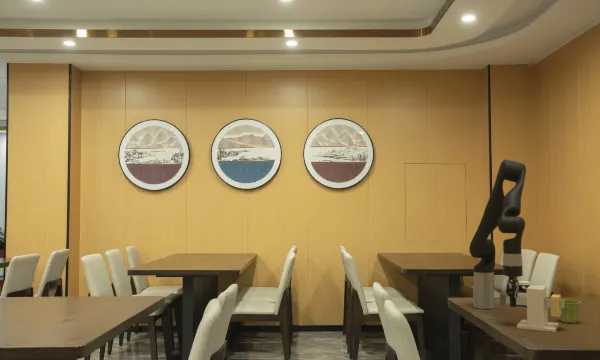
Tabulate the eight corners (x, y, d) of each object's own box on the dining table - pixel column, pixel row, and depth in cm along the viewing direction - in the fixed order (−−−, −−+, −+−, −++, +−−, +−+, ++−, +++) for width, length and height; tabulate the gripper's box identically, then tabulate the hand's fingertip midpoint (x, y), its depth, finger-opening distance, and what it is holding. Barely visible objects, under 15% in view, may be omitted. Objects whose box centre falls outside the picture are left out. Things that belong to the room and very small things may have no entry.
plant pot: (571, 325, 218) (571, 303, 219) (551, 321, 227) (551, 300, 227) (586, 322, 223) (585, 301, 223) (566, 318, 231) (565, 298, 231)
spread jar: (518, 302, 271) (517, 279, 272) (541, 305, 264) (541, 281, 265) (512, 306, 261) (511, 282, 262) (536, 308, 255) (535, 284, 255)
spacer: (551, 316, 210) (550, 296, 210) (553, 312, 216) (552, 294, 216) (559, 316, 208) (559, 297, 208) (561, 313, 214) (560, 294, 215)
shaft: (499, 306, 221) (499, 294, 221) (502, 304, 225) (501, 292, 225) (564, 311, 208) (563, 298, 209) (565, 309, 213) (564, 296, 213)
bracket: (516, 328, 213) (515, 287, 214) (521, 322, 224) (520, 284, 225) (555, 332, 206) (553, 290, 207) (558, 325, 217) (557, 286, 218)
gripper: (506, 262, 229) (507, 302, 228) (499, 265, 217) (501, 308, 216) (524, 263, 225) (526, 304, 224) (519, 266, 213) (520, 309, 212)
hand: (513, 305), depth 220 cm, fingers closed on shaft, 3 cm apart
